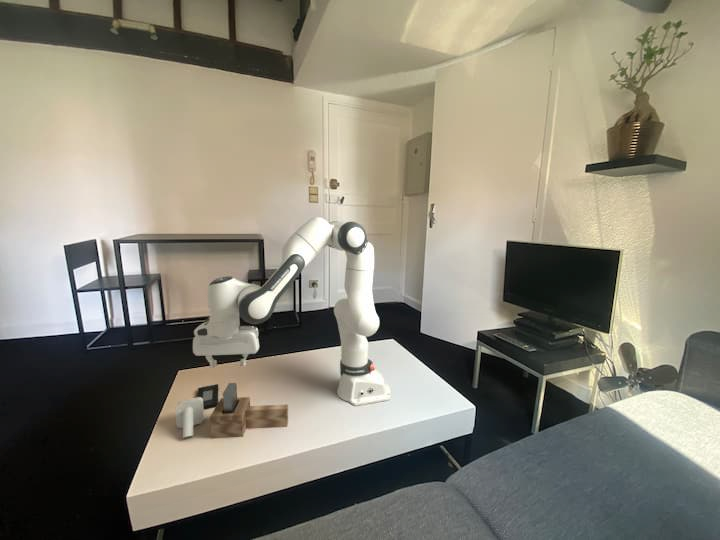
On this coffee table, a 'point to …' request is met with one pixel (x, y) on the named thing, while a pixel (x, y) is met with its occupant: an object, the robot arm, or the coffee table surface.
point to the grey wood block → (230, 398)
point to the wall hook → (189, 414)
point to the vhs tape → (209, 396)
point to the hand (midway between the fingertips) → (228, 365)
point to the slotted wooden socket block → (246, 418)
